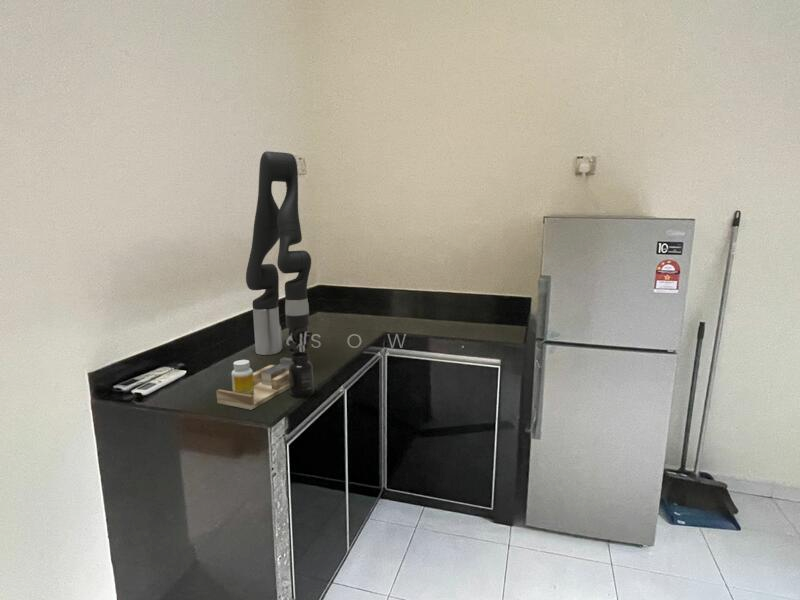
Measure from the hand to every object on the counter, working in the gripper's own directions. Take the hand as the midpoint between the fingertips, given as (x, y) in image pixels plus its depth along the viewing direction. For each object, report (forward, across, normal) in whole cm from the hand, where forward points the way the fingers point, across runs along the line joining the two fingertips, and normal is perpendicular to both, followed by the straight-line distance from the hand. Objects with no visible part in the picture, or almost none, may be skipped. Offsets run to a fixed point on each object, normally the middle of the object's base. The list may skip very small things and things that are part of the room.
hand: (299, 363), depth 159 cm
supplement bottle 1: (+2, -27, 0) cm, 27 cm away
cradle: (+3, -19, 0) cm, 20 cm away
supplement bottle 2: (+3, -16, -12) cm, 20 cm away
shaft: (+2, -11, 0) cm, 11 cm away
